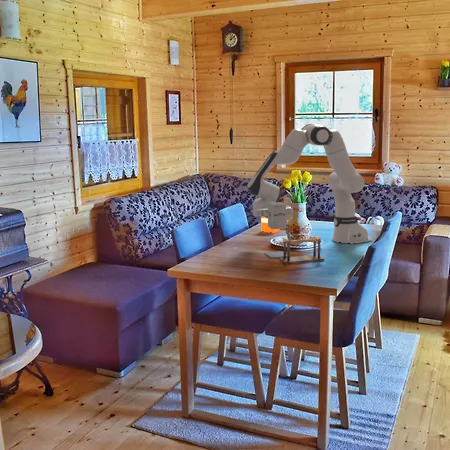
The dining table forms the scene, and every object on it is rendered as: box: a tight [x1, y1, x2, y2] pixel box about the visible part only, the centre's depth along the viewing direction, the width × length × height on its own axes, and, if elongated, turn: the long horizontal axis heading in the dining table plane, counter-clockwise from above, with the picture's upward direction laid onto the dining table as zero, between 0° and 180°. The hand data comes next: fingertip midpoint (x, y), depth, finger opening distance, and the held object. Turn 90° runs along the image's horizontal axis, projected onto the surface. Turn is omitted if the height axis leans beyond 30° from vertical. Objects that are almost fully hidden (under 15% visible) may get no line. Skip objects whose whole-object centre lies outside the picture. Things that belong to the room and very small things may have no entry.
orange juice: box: [260, 217, 280, 234], centre depth 342 cm, size 8×9×20 cm
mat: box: [263, 250, 287, 259], centre depth 284 cm, size 10×10×1 cm
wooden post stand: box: [282, 235, 322, 261], centre depth 272 cm, size 17×6×10 cm, turn 105°
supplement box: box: [268, 201, 287, 230], centre depth 280 cm, size 7×7×13 cm
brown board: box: [279, 254, 325, 265], centre depth 273 cm, size 20×8×1 cm, turn 105°
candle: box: [283, 195, 291, 223], centre depth 357 cm, size 7×14×20 cm, turn 78°
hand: (277, 213), depth 279 cm, fingers closed on supplement box, 7 cm apart
